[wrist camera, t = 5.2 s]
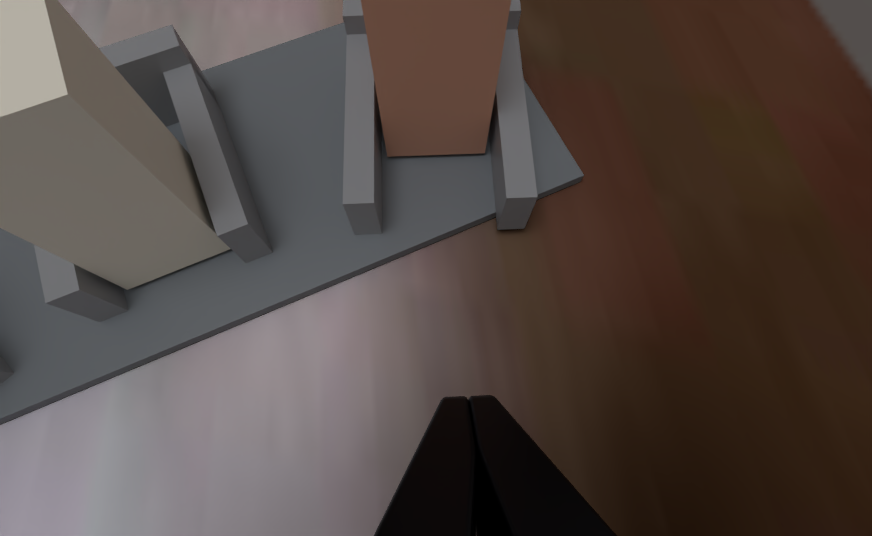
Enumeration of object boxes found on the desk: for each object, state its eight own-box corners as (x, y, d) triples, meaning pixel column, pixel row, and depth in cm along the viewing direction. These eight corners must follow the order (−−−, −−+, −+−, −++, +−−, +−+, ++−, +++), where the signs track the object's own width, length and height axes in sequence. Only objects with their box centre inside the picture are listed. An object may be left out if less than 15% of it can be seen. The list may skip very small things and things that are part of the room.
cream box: (231, 248, 21) (67, 94, 12) (127, 289, 21) (-135, 162, 11) (206, 173, 22) (39, -21, 13) (107, 210, 22) (-145, 34, 12)
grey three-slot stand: (593, 203, 23) (630, 147, 19) (-263, 569, 18) (-485, 610, 14) (462, -9, 27) (467, -94, 23) (-259, 239, 22) (-427, 191, 18)
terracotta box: (484, 153, 23) (520, -51, 13) (387, 156, 23) (352, -46, 13) (479, 82, 24) (507, -150, 15) (386, 85, 24) (355, -145, 15)
